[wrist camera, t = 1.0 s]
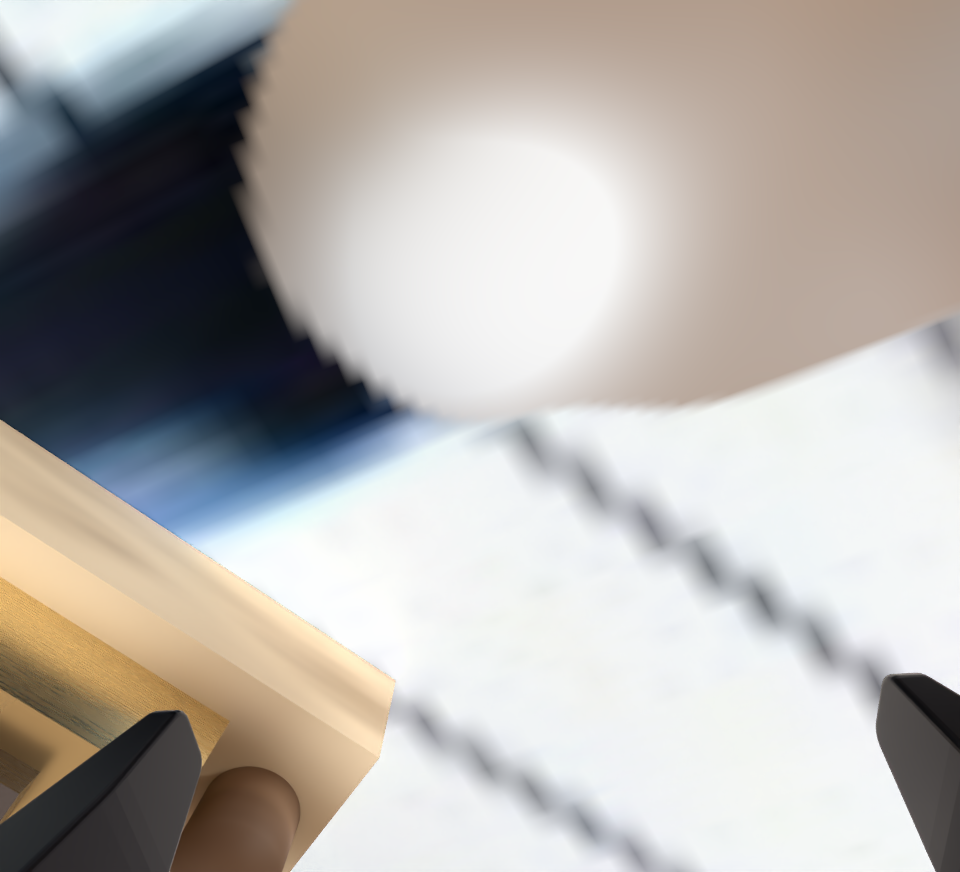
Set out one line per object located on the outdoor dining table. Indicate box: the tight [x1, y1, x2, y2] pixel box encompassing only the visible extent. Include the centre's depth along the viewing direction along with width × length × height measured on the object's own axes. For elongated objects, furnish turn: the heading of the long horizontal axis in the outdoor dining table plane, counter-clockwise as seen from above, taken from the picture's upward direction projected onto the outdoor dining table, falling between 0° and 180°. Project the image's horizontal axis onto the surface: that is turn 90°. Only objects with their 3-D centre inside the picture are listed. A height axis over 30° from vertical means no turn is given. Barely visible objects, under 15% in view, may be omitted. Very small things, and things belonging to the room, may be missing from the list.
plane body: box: [0, 420, 395, 872], centre depth 19 cm, size 7×16×6 cm, turn 54°
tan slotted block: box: [0, 577, 230, 824], centre depth 16 cm, size 4×8×4 cm, turn 54°
